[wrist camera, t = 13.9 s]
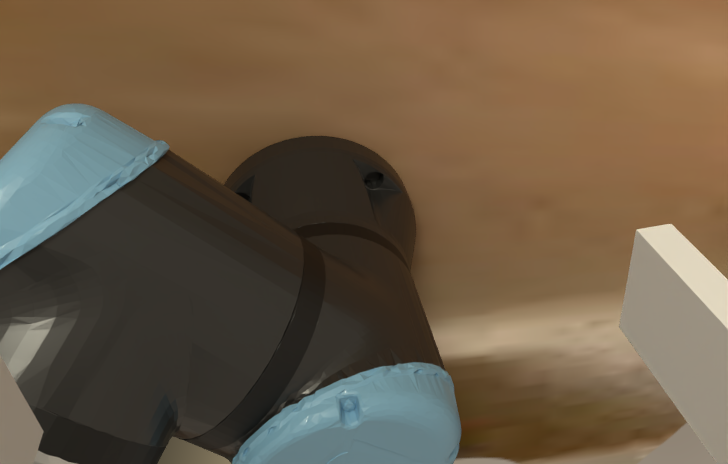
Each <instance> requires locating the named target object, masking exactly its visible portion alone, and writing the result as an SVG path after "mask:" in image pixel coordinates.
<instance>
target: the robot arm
mask: <svg viewBox="0 0 728 464" xmlns="http://www.w3.org/2000/svg"><path fill="white" fill-rule="evenodd" d="M168 149H169V145H168V144H167V143H166V142H164V141H162V140H157V141H154V140H152V139H151V138H149V137H147V136H145V135H144V134H142V133H140V132H138V131H137V130H135V129H133V128H132V127H130V126H128V125H126V124H125V123H123V122H121V121H120V120H118V119H116V118H114V117H113V116H111V115H109V114H107V113H106V112H104V111H102V110H100V109H98V108H96V107H93V106H90V105H85V104H66V105H62V106H59V107H56V108H54V109H52V110H50V111H49V112H47V113H46V114H45V115H43V116H42V117H41V118H40V119H39V120H38V121H37V122H36V123H35V124H34V125H33V126H32V127H31V128H30V129H29V130H28V131H27V132H26V133H25V134H24V135H23V136H22V137H21V139H20V140H19V141H18V142H17V143H16V144H15V145H14V146H13V147H12V148H11V149H10V150H9V151H8V152H7V153H6V154H5V156H4V157H3V158H2V159H1V160H0V464H157V463H158V461H159V459H160V457H161V455H162V453H163V451H164V450H165V448H166V446H167V444H168V442H169V440H170V439H171V437H172V436H173V437H177V438H179V439H182V440H185V441H187V442H189V443H192V444H194V445H197V446H199V447H202V448H204V449H206V450H209V451H211V452H213V453H216V454H218V455H221V456H223V457H225V458H226V459H228V460H229V461H230V462H231V464H453V463H454V461H455V459H456V456H457V454H458V450H459V442H460V437H461V423H460V419H459V414H458V409H457V404H456V400H455V395H454V384H453V382H452V380H451V376H449V375H448V372H447V371H446V370H445V368H444V365H443V362H442V359H441V357H440V354H439V351H438V348H437V345H436V343H435V340H434V337H433V334H432V331H431V329H430V326H429V323H428V320H427V318H426V315H425V312H424V309H423V306H422V304H421V301H420V298H419V295H418V292H417V290H416V287H415V284H414V281H413V278H412V276H411V273H410V269H411V263H412V257H413V251H414V244H415V237H416V224H415V215H414V210H413V207H412V204H411V201H410V199H409V196H408V194H407V191H406V189H405V186H404V184H403V182H402V181H401V179H400V177H399V176H398V174H397V173H396V171H395V170H394V169H393V168H392V167H391V166H390V165H389V164H388V163H387V162H386V161H385V160H384V159H383V158H382V157H380V156H379V155H378V154H376V153H375V152H373V151H372V150H370V149H368V148H366V147H364V146H362V145H360V144H357V143H355V142H352V141H349V140H345V139H341V138H335V137H327V136H307V137H298V138H293V139H289V140H285V141H282V142H279V143H276V144H273V145H271V146H268V147H266V148H264V149H262V150H260V151H259V152H257V153H255V154H254V155H252V156H251V157H249V158H248V159H247V160H246V161H244V162H243V163H242V164H241V165H240V166H239V167H238V168H237V169H236V170H235V171H234V172H233V173H232V174H231V176H230V177H229V178H228V179H227V181H226V182H225V184H224V185H223V184H221V183H219V182H218V181H216V180H215V179H213V178H212V177H210V176H209V175H207V174H206V173H204V172H202V171H201V170H199V169H198V168H196V167H195V166H193V165H192V164H190V163H188V162H187V161H185V160H184V159H182V158H181V157H179V156H178V155H176V154H175V153H173V152H171V151H170V150H168ZM619 328H620V329H621V330H622V332H623V333H624V335H625V336H626V337H627V339H628V340H629V342H630V343H631V344H632V346H633V347H634V349H635V350H636V351H637V353H638V354H639V356H640V357H641V358H642V360H643V361H644V363H645V364H646V365H647V367H648V368H649V370H650V371H651V372H652V374H653V375H654V377H655V378H656V379H657V381H658V382H659V383H660V385H661V386H662V388H663V389H664V390H665V392H666V393H667V395H668V396H669V397H670V399H671V400H672V402H673V403H674V404H675V406H676V407H677V409H678V410H679V411H680V413H681V414H682V416H683V417H684V418H685V420H686V421H687V423H688V424H689V425H690V427H691V428H692V430H693V431H694V432H695V434H696V435H697V437H698V438H699V439H700V441H701V442H702V444H703V445H704V446H705V448H706V449H707V450H708V452H709V453H710V455H711V456H712V458H713V459H714V460H715V462H716V463H717V464H728V279H726V278H725V277H724V276H723V275H722V274H721V273H720V272H719V271H718V270H717V269H716V268H715V267H714V266H713V265H712V264H711V263H710V262H709V261H708V260H707V259H706V258H705V257H704V256H703V255H702V254H701V253H700V252H699V251H698V250H697V249H696V248H695V247H694V246H693V245H692V244H691V243H690V242H689V241H688V240H687V239H686V238H685V237H684V236H683V235H682V234H681V233H680V232H679V231H678V230H677V229H676V228H675V227H674V226H673V225H672V224H667V225H661V226H655V227H649V228H643V229H637V230H636V234H635V240H634V246H633V251H632V257H631V262H630V268H629V274H628V279H627V285H626V291H625V296H624V302H623V307H622V313H621V319H620V324H619Z"/></svg>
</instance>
